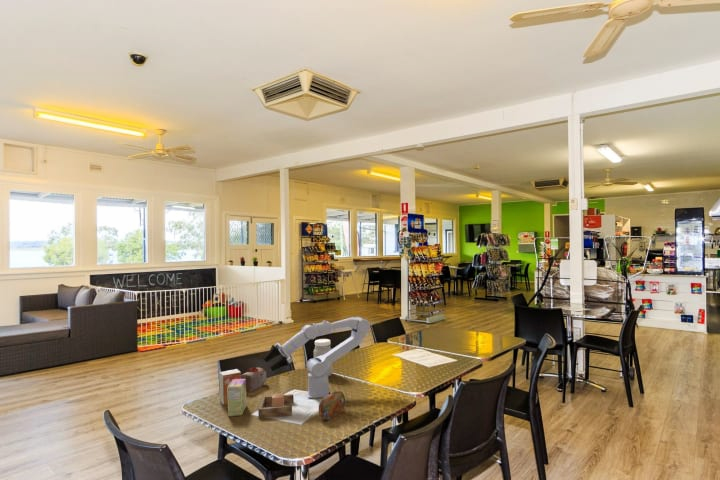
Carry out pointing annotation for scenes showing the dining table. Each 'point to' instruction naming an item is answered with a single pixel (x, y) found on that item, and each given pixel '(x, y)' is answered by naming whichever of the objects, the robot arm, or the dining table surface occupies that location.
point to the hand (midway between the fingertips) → (267, 364)
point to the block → (278, 400)
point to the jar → (323, 352)
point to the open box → (275, 411)
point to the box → (236, 397)
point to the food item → (254, 378)
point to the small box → (227, 383)
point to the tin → (331, 405)
